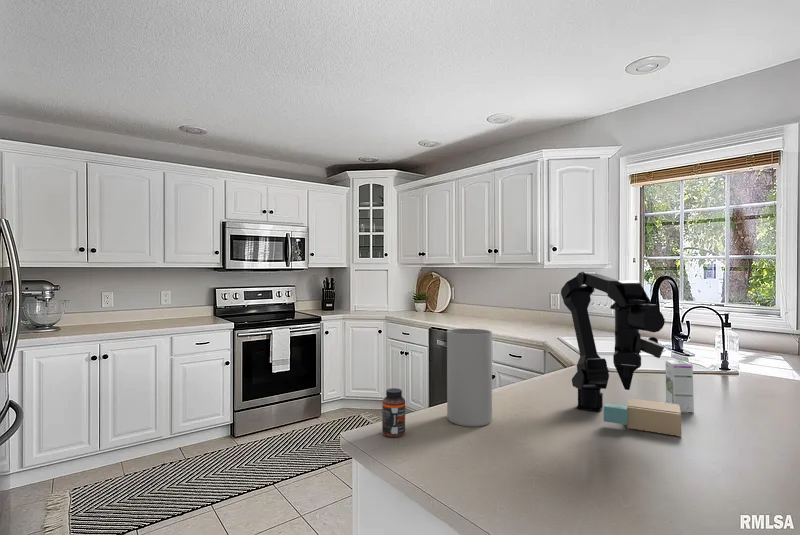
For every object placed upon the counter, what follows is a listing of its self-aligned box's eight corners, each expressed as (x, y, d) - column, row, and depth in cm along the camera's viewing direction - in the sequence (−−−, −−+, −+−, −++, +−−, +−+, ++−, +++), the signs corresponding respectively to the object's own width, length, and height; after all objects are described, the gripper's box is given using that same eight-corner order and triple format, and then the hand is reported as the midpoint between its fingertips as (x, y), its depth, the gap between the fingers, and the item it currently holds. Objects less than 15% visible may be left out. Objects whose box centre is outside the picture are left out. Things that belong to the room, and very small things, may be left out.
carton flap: (603, 427, 115) (603, 406, 115) (604, 423, 118) (604, 403, 118) (681, 439, 107) (681, 417, 107) (681, 435, 109) (680, 413, 109)
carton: (627, 428, 115) (627, 405, 115) (628, 419, 122) (628, 398, 122) (681, 436, 109) (680, 412, 109) (679, 426, 116) (679, 404, 116)
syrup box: (694, 413, 128) (694, 364, 128) (672, 411, 129) (672, 363, 129) (686, 407, 134) (685, 360, 134) (665, 406, 135) (664, 359, 135)
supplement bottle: (400, 439, 107) (400, 394, 107) (378, 436, 109) (378, 391, 110) (408, 431, 113) (408, 388, 113) (387, 428, 115) (387, 386, 115)
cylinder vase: (460, 410, 131) (459, 327, 131) (499, 418, 123) (498, 330, 124) (439, 421, 120) (439, 332, 121) (480, 431, 113) (480, 335, 114)
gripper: (664, 333, 104) (665, 398, 104) (659, 325, 120) (659, 381, 120) (613, 330, 109) (613, 392, 109) (614, 323, 126) (615, 376, 125)
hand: (627, 385), depth 116 cm, fingers open, 9 cm apart
